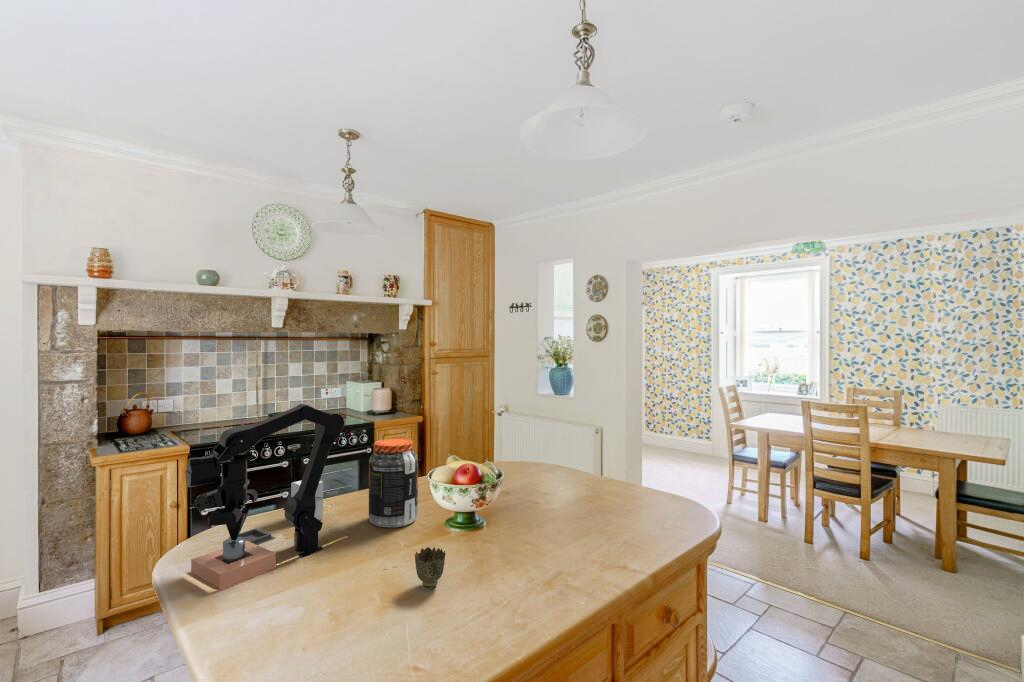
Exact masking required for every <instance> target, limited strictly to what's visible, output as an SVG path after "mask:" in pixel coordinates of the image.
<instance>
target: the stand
mask: <svg viewBox="0 0 1024 682" xmlns="http://www.w3.org/2000/svg"><path fill="white" fill-rule="evenodd" d="M238 537H244V538H245V541H246V540H247V541H249V542H251V543H253V544H256V545H258V546H260V545H261V544H262V545H263V544H264V543H267V542H269V541H272V540H275V539H277V537H275V536H272V534H271V533H269V532H266V531H264V530H261V529H259V528H257V527H255V528H253V529H250V530H246V531H244V532H241V533H239V536H238ZM229 538H231V537H230V536H229V537H228V539H229Z"/></svg>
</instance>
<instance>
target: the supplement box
mask: <svg viewBox="0 0 1024 682" xmlns="http://www.w3.org/2000/svg"><path fill="white" fill-rule="evenodd" d="M301 481H302V479H301V480H298V481H293V482H291V484H290V485H291V486H290V487H291V488H290V490H291V491H290V496H294V495H295V494H296V493H297V492H298V490H299V487H300V484H301ZM315 501H316V509H315V515H314V517H315V518H317V519H318V520H319V521H322V520H323V519H324V517H323V516H324V481H323V480H320V482H319V485H318V488H317V491H316V494H315Z"/></svg>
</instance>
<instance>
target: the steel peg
mask: <svg viewBox="0 0 1024 682" xmlns="http://www.w3.org/2000/svg"><path fill="white" fill-rule="evenodd" d="M222 549H223V562H224V563H226V564H230V563H233V562H235V561H238V560H241V559H244V558H245V538H244V537H238V538H237V539H236V540H231V538H229V537H228V538H226V539H225V540H223V541H222Z"/></svg>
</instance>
